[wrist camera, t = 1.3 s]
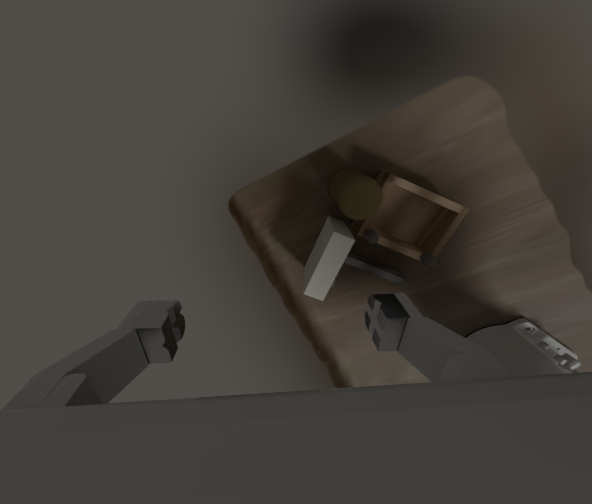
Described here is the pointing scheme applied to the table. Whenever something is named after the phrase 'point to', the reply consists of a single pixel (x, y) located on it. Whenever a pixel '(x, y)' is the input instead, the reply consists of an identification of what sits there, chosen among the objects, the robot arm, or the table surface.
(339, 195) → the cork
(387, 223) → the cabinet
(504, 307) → the table surface
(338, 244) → the white rectangular block
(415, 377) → the table surface
